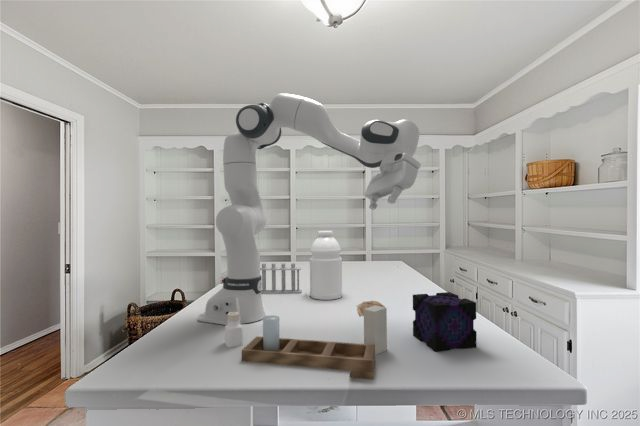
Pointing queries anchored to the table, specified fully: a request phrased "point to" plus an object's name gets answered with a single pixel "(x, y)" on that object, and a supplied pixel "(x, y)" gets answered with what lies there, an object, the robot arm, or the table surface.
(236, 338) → the pepper shaker
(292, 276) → the test tube rack
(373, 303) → the fish fossil
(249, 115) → the robot arm
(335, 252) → the bottle
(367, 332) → the clay block
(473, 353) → the table surface
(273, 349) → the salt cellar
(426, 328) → the energy cube
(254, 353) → the rack
